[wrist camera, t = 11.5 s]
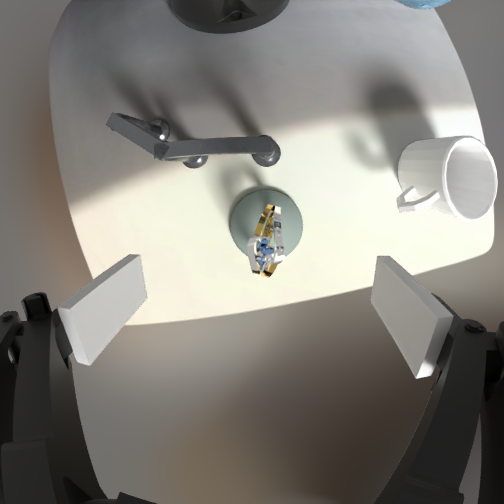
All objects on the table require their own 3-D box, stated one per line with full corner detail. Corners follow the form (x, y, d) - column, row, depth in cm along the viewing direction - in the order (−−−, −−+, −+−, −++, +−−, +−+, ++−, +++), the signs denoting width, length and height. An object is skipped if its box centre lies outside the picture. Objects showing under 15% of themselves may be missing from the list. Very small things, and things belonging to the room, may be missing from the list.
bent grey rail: (176, 84, 26) (139, 55, 17) (285, 150, 28) (292, 140, 18) (142, 137, 28) (94, 129, 19) (246, 205, 30) (234, 222, 21)
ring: (273, 264, 31) (272, 295, 24) (246, 257, 31) (236, 285, 24) (291, 205, 29) (296, 218, 21) (263, 197, 29) (257, 207, 21)
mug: (359, 169, 28) (395, 170, 18) (433, 132, 25) (482, 125, 16) (386, 231, 30) (426, 256, 20) (455, 190, 27) (504, 202, 18)
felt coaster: (257, 175, 29) (257, 175, 28) (316, 217, 30) (317, 218, 29) (217, 233, 31) (216, 235, 31) (274, 272, 32) (274, 274, 32)
